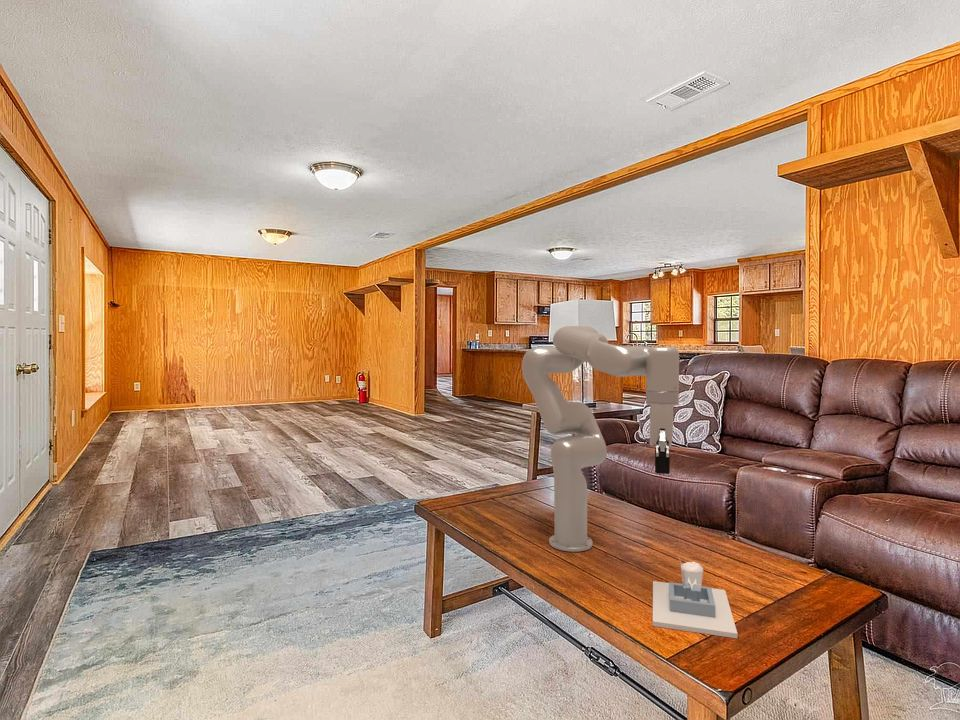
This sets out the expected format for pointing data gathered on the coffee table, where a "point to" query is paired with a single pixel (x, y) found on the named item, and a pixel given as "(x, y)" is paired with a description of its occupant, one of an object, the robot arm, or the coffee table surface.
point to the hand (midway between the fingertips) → (662, 468)
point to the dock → (692, 610)
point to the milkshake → (691, 580)
